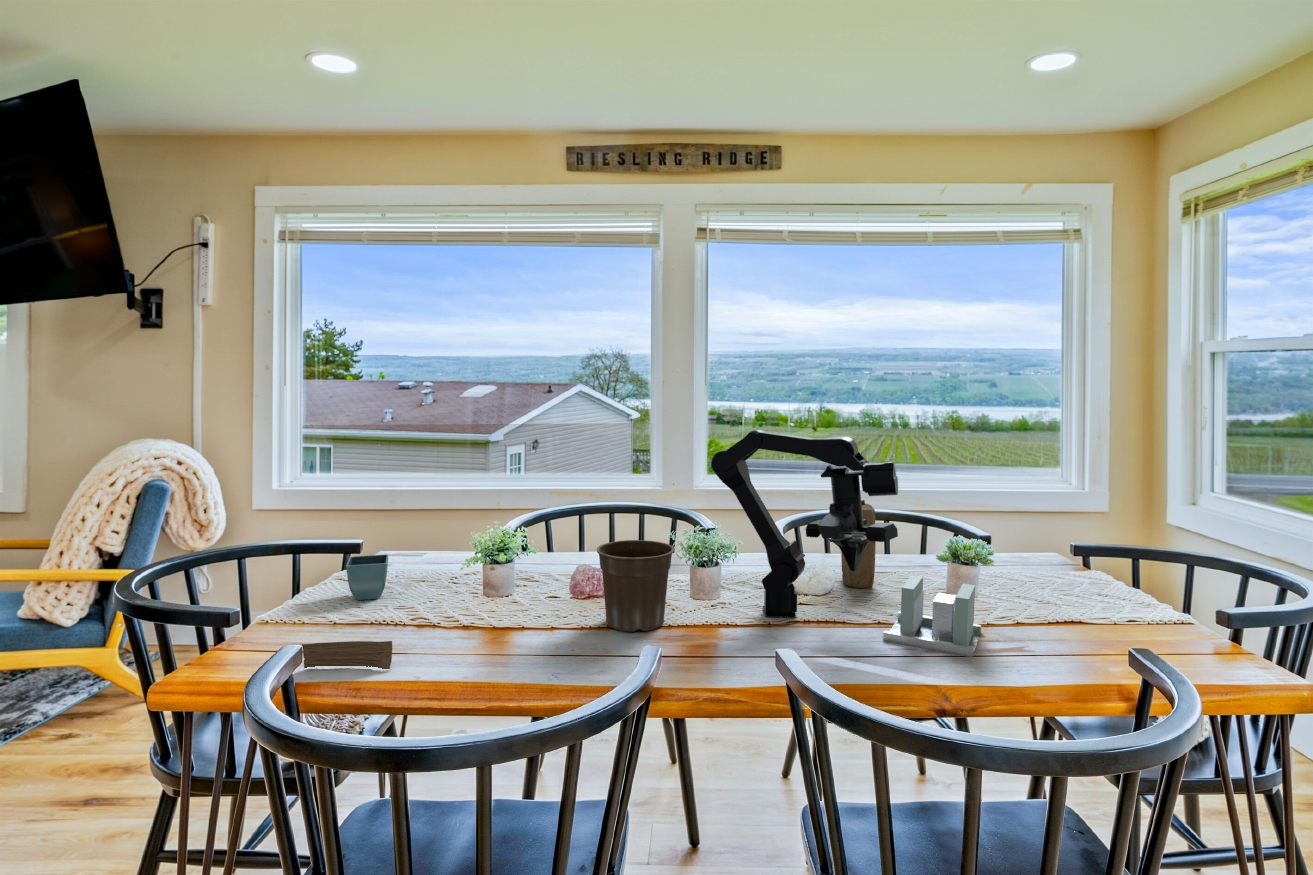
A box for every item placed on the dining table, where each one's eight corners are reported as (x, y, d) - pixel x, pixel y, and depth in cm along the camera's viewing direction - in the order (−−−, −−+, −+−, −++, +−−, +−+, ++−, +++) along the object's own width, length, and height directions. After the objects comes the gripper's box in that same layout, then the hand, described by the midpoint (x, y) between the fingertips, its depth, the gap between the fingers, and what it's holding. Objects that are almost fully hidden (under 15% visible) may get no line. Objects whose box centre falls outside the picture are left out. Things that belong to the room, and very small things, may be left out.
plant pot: (620, 605, 162) (620, 535, 160) (685, 616, 155) (686, 543, 153) (582, 628, 147) (581, 552, 146) (652, 641, 140) (652, 561, 139)
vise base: (882, 645, 138) (882, 632, 138) (898, 622, 151) (899, 610, 151) (971, 662, 130) (972, 649, 130) (981, 636, 143) (981, 624, 143)
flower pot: (389, 589, 173) (388, 553, 172) (388, 600, 165) (387, 562, 164) (350, 593, 170) (349, 556, 170) (347, 604, 162) (345, 565, 161)
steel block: (931, 641, 138) (933, 600, 137) (936, 631, 143) (938, 592, 143) (950, 644, 136) (952, 603, 136) (955, 634, 141) (957, 595, 141)
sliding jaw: (899, 637, 139) (901, 587, 138) (910, 622, 148) (911, 575, 147) (913, 640, 138) (915, 589, 137) (922, 624, 146) (924, 576, 146)
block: (875, 590, 174) (878, 509, 172) (844, 588, 175) (846, 508, 173) (868, 577, 184) (870, 501, 183) (838, 576, 185) (840, 500, 184)
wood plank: (300, 673, 125) (299, 646, 125) (305, 669, 127) (304, 641, 127) (389, 671, 126) (389, 644, 126) (393, 667, 128) (392, 640, 128)
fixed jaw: (952, 648, 134) (954, 596, 133) (959, 632, 143) (961, 583, 142) (966, 651, 133) (968, 599, 132) (973, 634, 142) (975, 585, 141)
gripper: (787, 502, 150) (794, 575, 151) (867, 505, 137) (874, 585, 137) (816, 494, 158) (823, 563, 158) (895, 495, 144) (902, 571, 145)
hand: (853, 570), depth 150 cm, fingers closed
